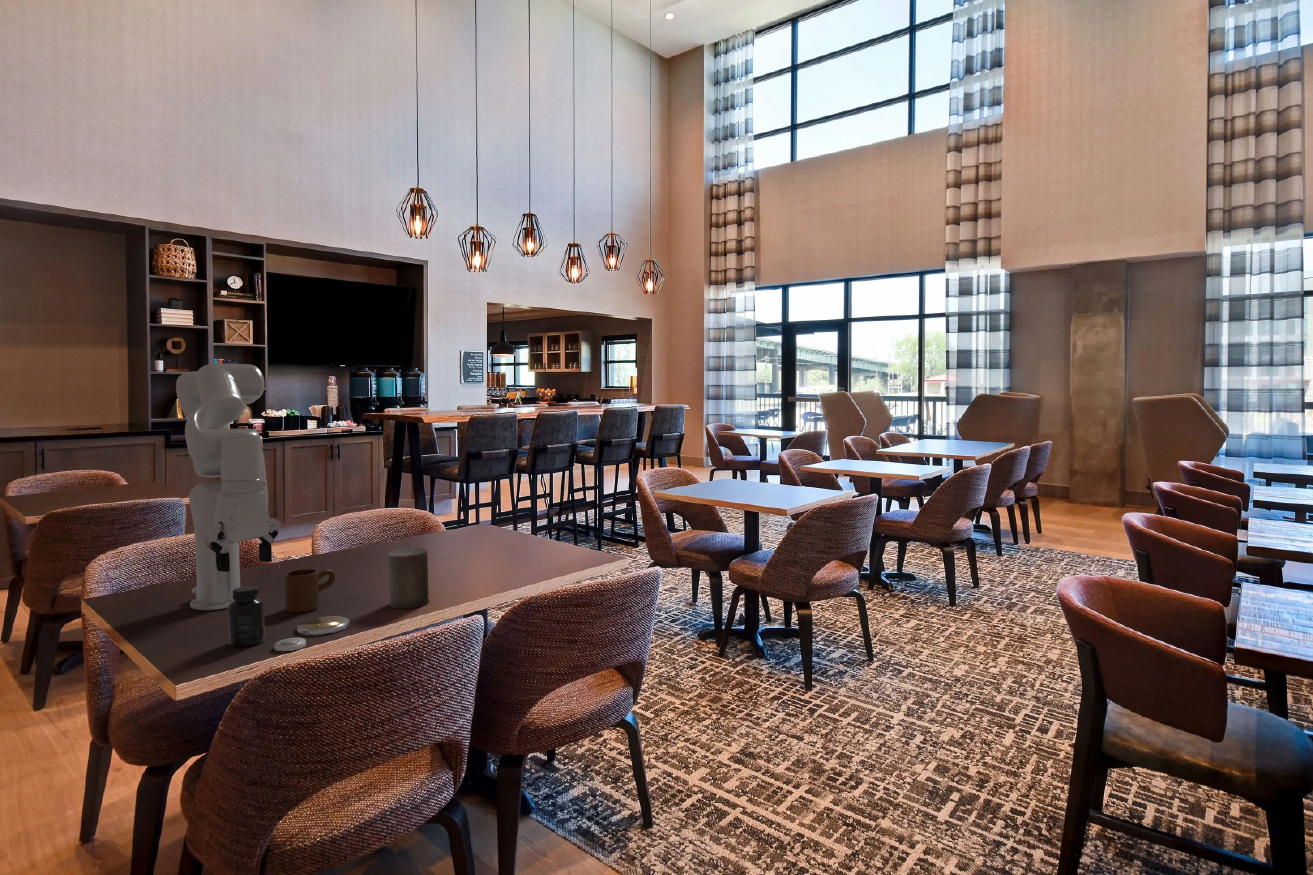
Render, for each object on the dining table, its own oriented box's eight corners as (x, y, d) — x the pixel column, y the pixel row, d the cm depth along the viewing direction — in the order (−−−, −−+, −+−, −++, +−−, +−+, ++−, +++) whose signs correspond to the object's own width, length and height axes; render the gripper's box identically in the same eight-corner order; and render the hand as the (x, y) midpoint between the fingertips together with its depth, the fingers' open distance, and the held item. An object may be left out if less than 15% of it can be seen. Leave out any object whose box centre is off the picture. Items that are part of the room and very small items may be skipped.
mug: (330, 599, 188) (329, 564, 188) (341, 605, 183) (340, 569, 182) (281, 608, 180) (280, 572, 180) (291, 615, 175) (290, 577, 174)
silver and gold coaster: (286, 631, 163) (286, 626, 163) (326, 617, 173) (326, 612, 173) (320, 638, 159) (320, 633, 159) (359, 624, 169) (359, 619, 169)
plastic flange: (268, 649, 152) (267, 644, 152) (292, 640, 157) (292, 635, 157) (287, 653, 149) (287, 648, 149) (312, 644, 155) (312, 639, 155)
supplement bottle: (272, 637, 159) (270, 584, 158) (251, 648, 152) (249, 593, 152) (243, 636, 160) (241, 583, 159) (221, 647, 153) (219, 592, 152)
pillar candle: (436, 601, 187) (435, 544, 186) (406, 611, 178) (405, 551, 178) (411, 596, 192) (410, 541, 191) (381, 605, 183) (379, 547, 183)
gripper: (266, 482, 163) (269, 556, 164) (190, 491, 147) (193, 573, 148) (289, 484, 160) (292, 559, 161) (214, 493, 144) (217, 576, 145)
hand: (245, 566), depth 155 cm, fingers open, 9 cm apart
